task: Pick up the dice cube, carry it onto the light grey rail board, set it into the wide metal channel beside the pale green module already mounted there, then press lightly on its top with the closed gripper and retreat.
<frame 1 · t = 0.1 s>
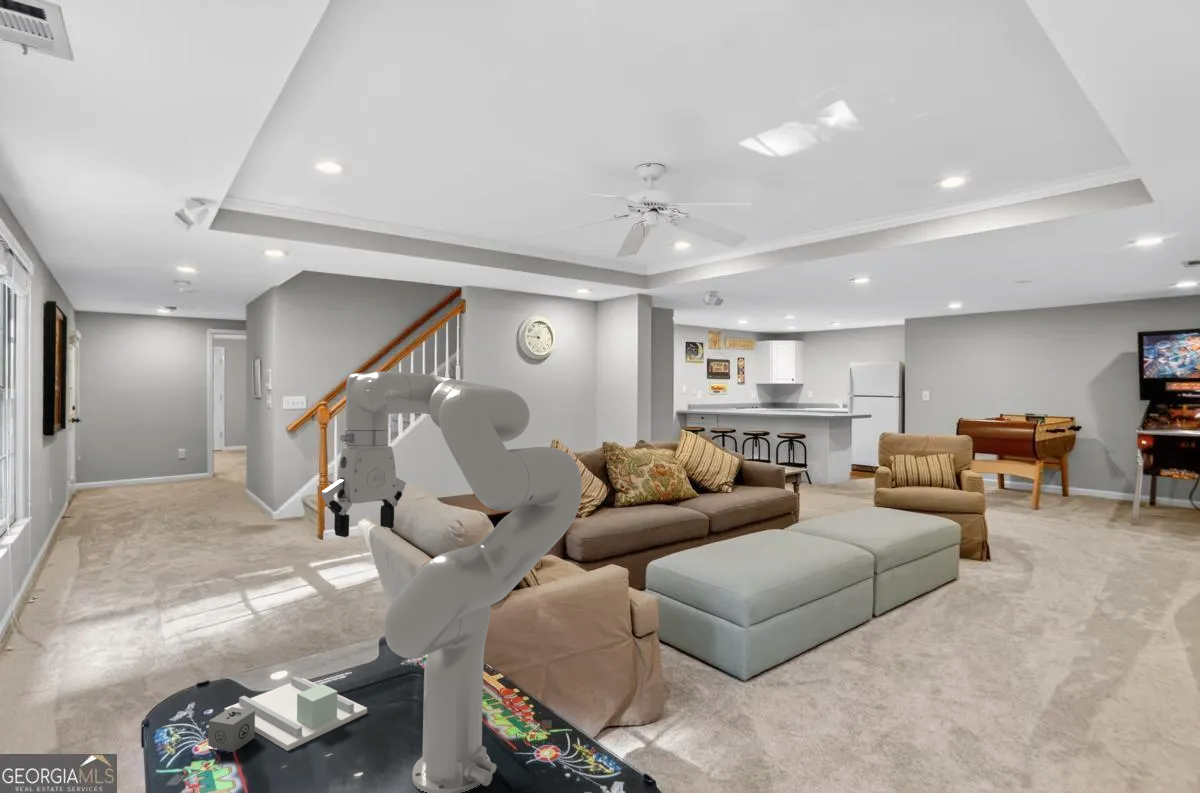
hand: (365, 531, 116), 37 cm above the table, tool pointing down, fingers open, 9 cm apart
rail board: (295, 713, 121), on the table
dice cube: (231, 744, 110), on the table
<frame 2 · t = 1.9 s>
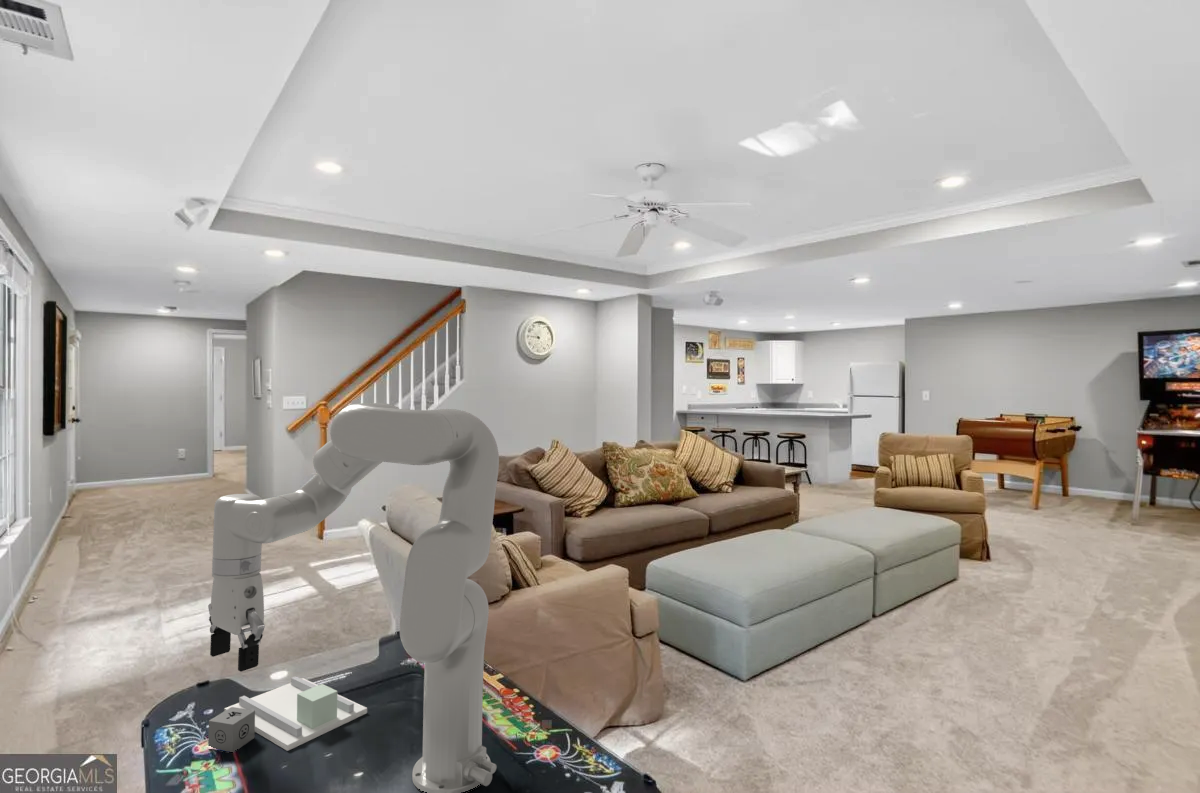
hand: (233, 661, 111), 14 cm above the table, tool pointing down, fingers open, 9 cm apart
nothing on the table moved.
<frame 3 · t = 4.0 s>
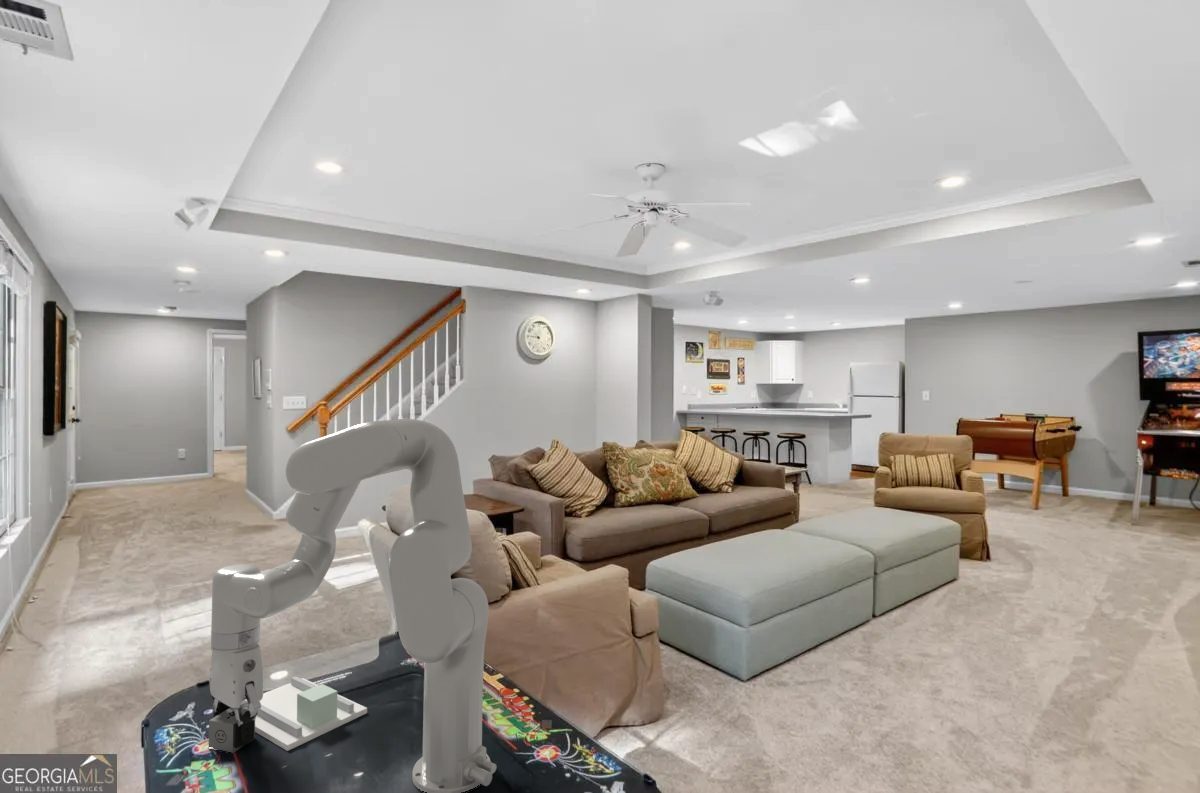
hand: (233, 736, 111), 1 cm above the table, tool pointing down, fingers closed on dice cube, 6 cm apart
dice cube: (232, 744, 110), on the table, touching gripper
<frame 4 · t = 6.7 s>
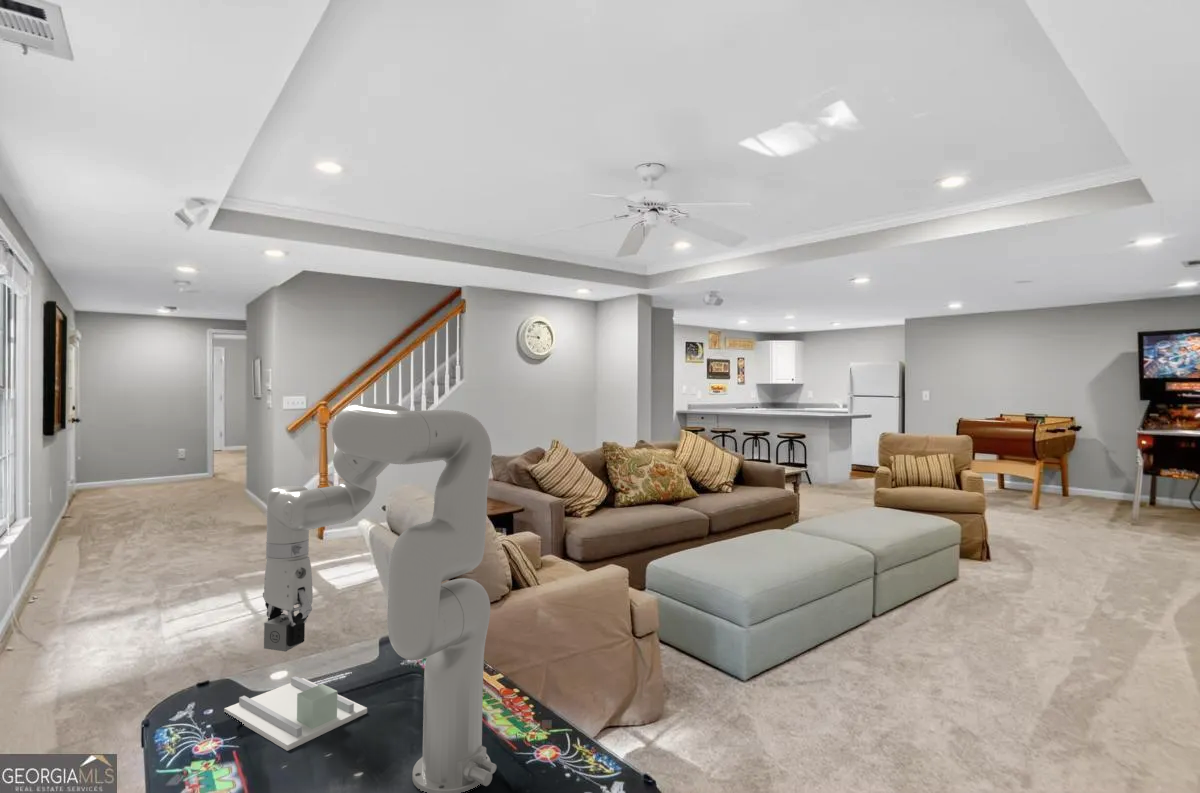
hand: (285, 639, 123), 13 cm above the table, tool pointing down, fingers closed on dice cube, 6 cm apart
dice cube: (284, 646, 123), point 12 cm above the table, touching gripper
when the fingers open (3 cm above the table, at t = 9.4 s): dice cube stays where it is, resting on rail board.
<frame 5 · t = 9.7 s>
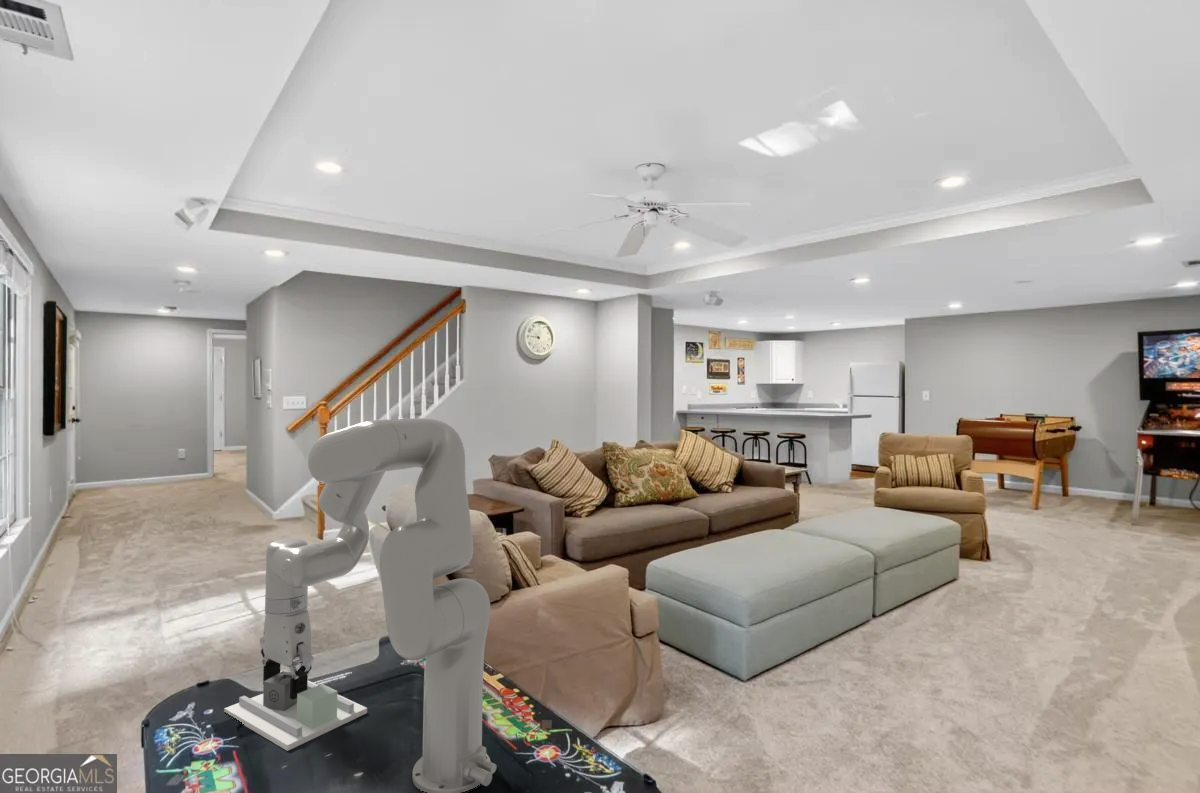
hand: (284, 689, 123), 3 cm above the table, tool pointing down, fingers open, 9 cm apart
dice cube: (283, 704, 123), point 1 cm above the table, touching rail board
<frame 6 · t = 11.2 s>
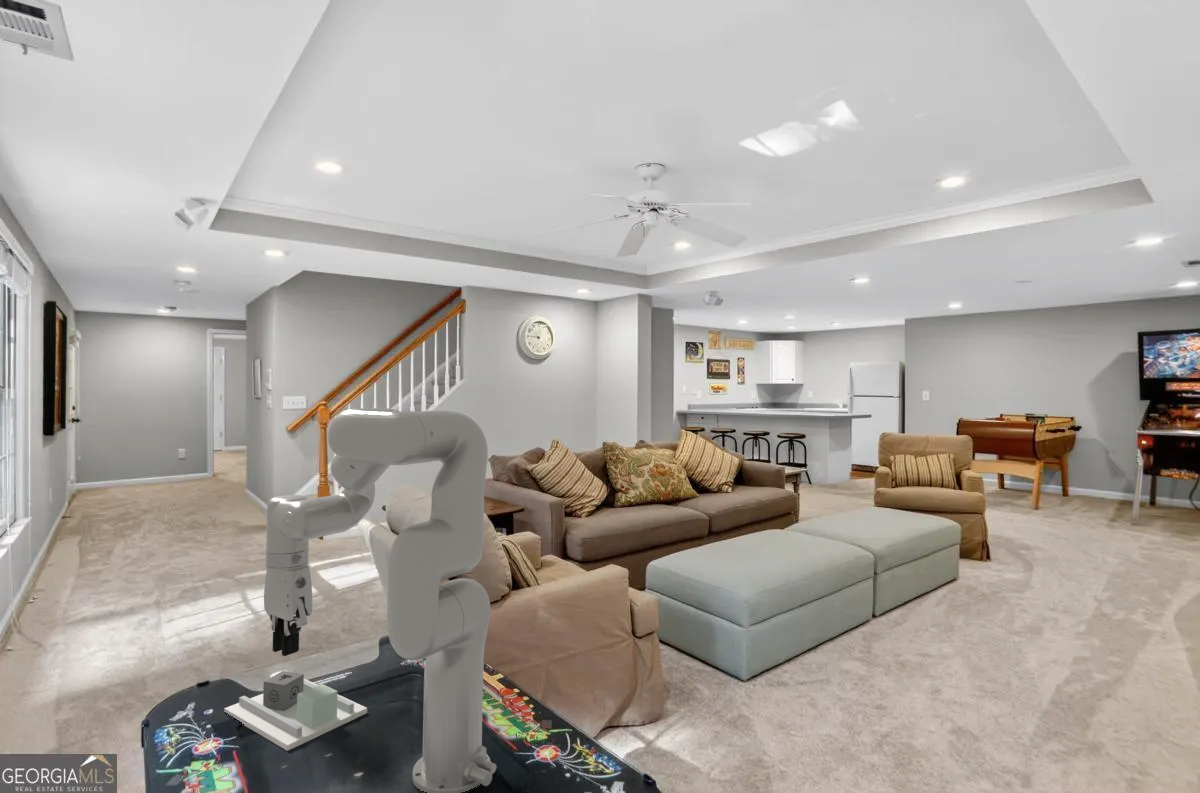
hand: (285, 650, 123), 11 cm above the table, tool pointing down, fingers closed
nothing on the table moved.
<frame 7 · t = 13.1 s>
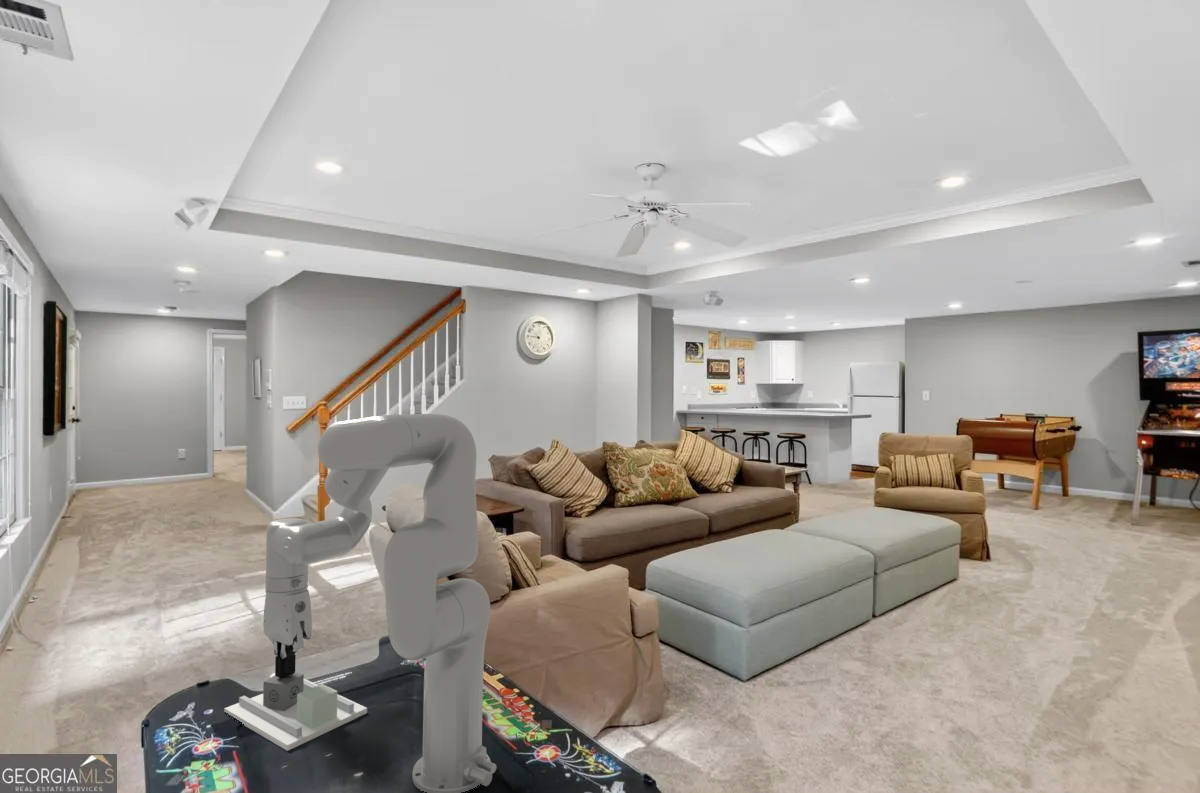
hand: (285, 674, 123), 6 cm above the table, tool pointing down, fingers closed
nothing on the table moved.
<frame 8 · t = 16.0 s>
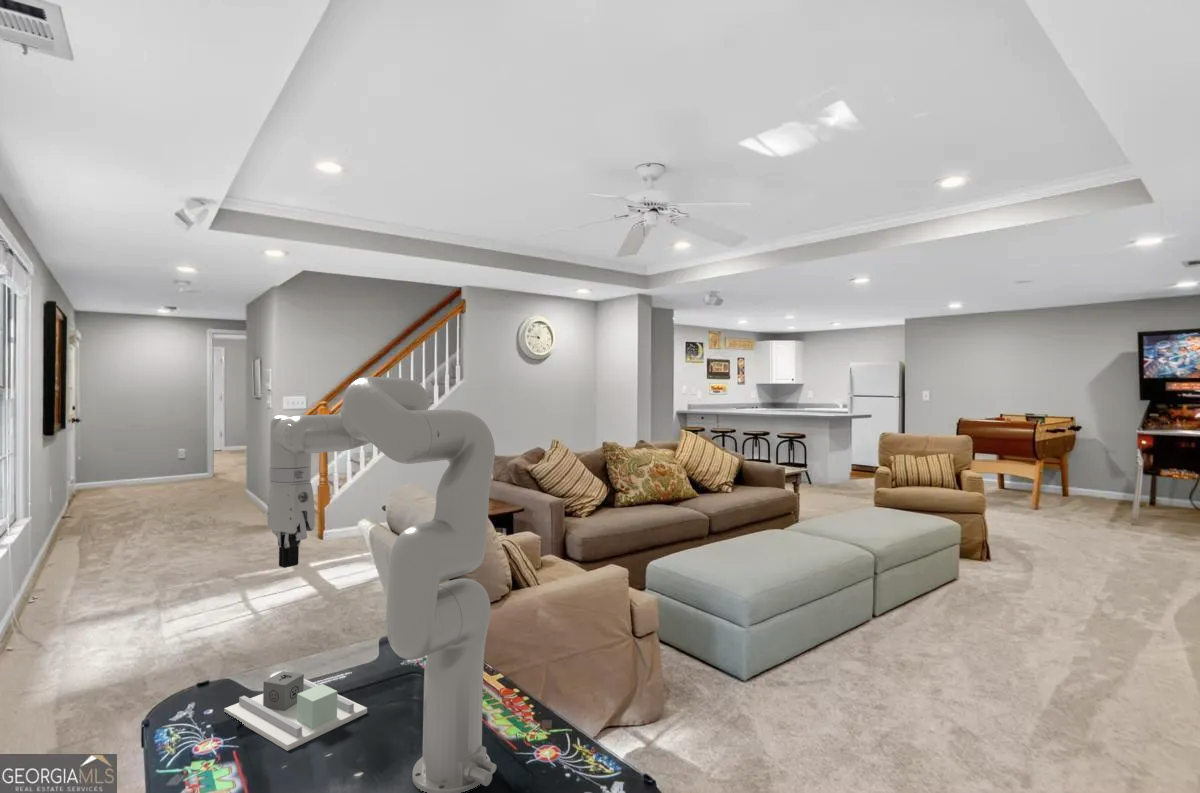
hand: (288, 565, 127), 27 cm above the table, tool pointing down, fingers closed
nothing on the table moved.
at the end: dice cube inside the target area on the rail board (0.8 cm from its centre), point 0.8 cm above the rail board's base; dice cube tilted 0°; the gripper is holding nothing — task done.
